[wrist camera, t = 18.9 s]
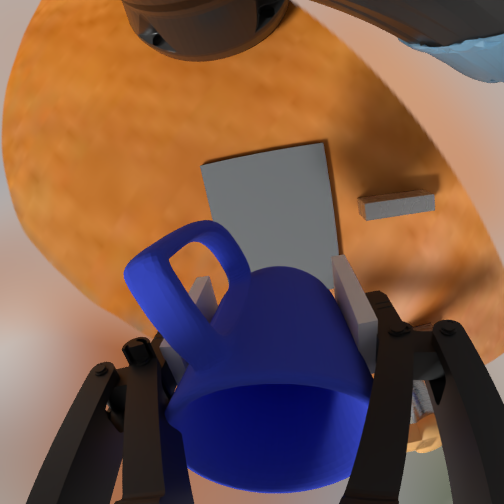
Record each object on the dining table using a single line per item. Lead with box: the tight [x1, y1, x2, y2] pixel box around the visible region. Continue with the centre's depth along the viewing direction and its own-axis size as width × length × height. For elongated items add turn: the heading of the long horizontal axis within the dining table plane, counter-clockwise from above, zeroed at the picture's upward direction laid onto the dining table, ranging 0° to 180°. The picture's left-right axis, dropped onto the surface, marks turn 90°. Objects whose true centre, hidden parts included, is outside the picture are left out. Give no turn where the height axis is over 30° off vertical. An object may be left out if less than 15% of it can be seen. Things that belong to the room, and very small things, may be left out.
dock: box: [357, 189, 435, 423], centre depth 23 cm, size 19×10×12 cm, turn 12°
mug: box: [124, 220, 374, 493], centre depth 13 cm, size 8×12×10 cm
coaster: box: [200, 143, 339, 289], centre depth 28 cm, size 14×11×1 cm
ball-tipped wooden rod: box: [406, 413, 442, 453], centre depth 19 cm, size 19×4×3 cm, turn 93°
